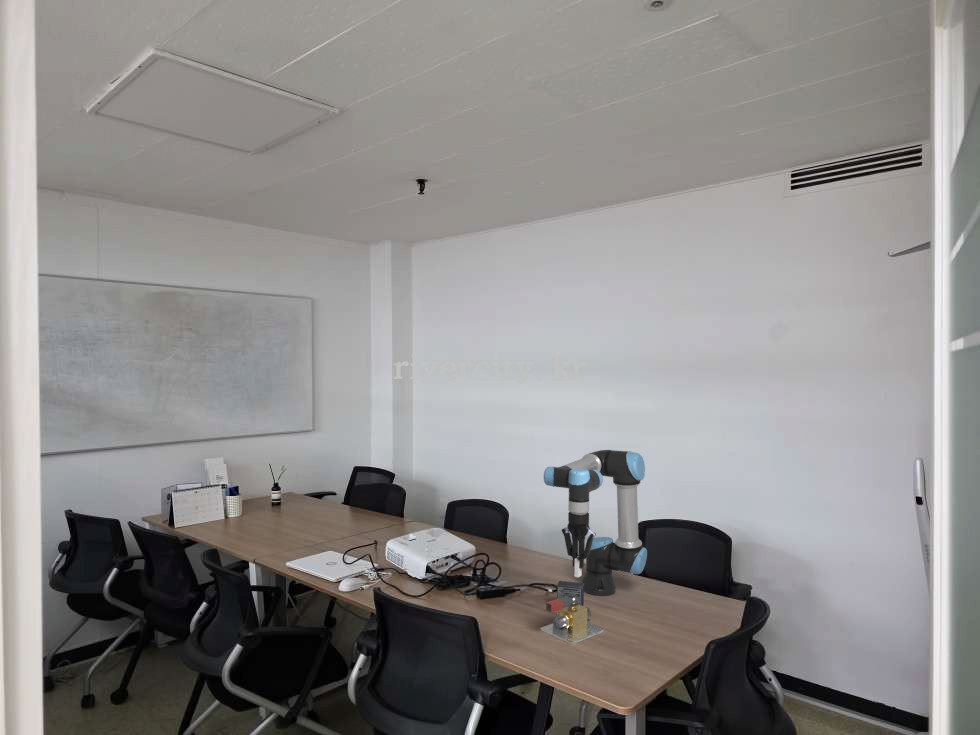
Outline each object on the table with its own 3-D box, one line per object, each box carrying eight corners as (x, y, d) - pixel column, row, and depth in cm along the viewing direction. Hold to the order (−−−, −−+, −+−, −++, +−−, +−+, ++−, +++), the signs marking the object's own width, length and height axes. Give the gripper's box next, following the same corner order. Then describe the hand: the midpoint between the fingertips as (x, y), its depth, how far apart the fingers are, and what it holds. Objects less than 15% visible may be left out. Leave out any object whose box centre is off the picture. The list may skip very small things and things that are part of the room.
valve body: (571, 618, 249) (572, 593, 249) (603, 631, 237) (604, 605, 237) (540, 630, 238) (540, 603, 238) (571, 644, 225) (572, 617, 225)
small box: (584, 607, 261) (584, 582, 261) (582, 613, 255) (582, 587, 255) (558, 604, 264) (559, 579, 264) (556, 610, 258) (556, 584, 257)
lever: (571, 600, 241) (572, 592, 241) (580, 604, 237) (580, 596, 237) (544, 610, 231) (544, 601, 231) (552, 613, 227) (553, 605, 227)
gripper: (599, 512, 228) (598, 576, 228) (567, 507, 235) (566, 569, 236) (590, 516, 222) (589, 582, 222) (558, 511, 229) (557, 575, 230)
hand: (578, 575), depth 229 cm, fingers closed
